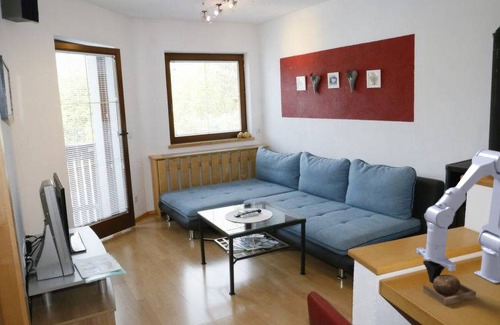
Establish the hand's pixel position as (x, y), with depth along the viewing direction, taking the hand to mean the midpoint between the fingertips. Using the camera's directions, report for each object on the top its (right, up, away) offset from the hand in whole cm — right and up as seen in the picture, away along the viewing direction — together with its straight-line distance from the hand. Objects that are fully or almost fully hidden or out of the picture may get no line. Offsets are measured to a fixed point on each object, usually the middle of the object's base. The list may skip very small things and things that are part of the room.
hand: (433, 282), depth 129 cm
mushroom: (+2, -2, -5) cm, 5 cm away
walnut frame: (+2, -2, -6) cm, 6 cm away
